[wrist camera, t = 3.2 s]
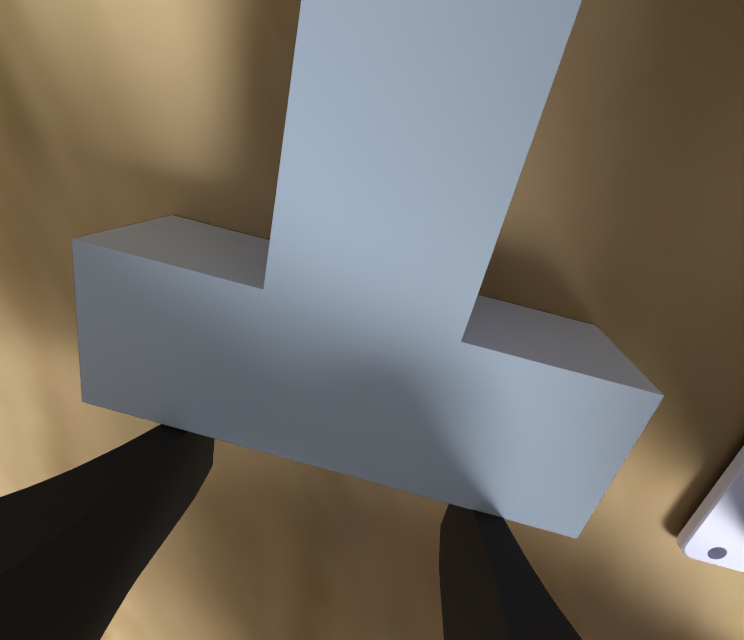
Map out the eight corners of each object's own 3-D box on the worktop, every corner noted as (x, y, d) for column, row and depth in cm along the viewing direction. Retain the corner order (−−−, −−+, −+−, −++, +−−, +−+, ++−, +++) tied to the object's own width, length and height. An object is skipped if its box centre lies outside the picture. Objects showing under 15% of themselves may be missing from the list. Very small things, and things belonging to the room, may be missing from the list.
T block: (777, -43, 8) (1014, -175, 5) (539, 440, 13) (577, 538, 9) (185, -179, 8) (31, -390, 5) (168, 340, 13) (82, 401, 10)
